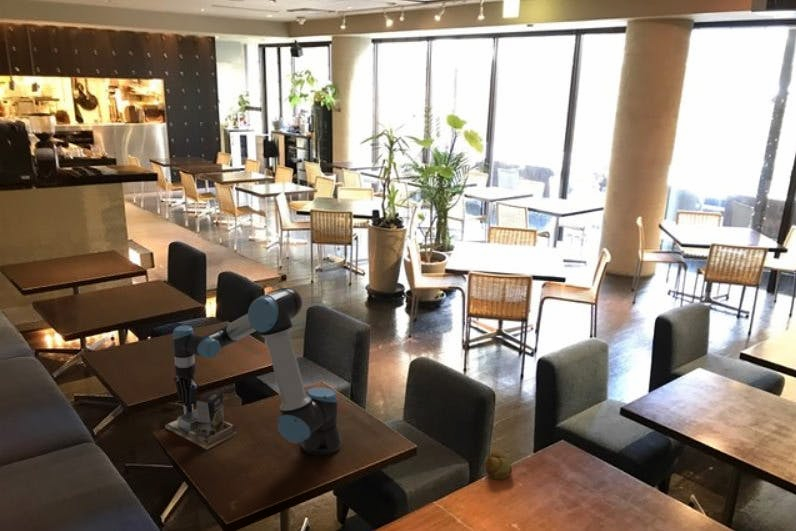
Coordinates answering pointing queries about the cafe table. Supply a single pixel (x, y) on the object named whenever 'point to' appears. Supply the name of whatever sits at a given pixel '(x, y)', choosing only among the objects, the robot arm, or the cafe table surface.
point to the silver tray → (201, 441)
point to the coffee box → (210, 414)
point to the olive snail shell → (498, 465)
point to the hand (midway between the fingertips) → (188, 418)
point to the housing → (188, 422)
